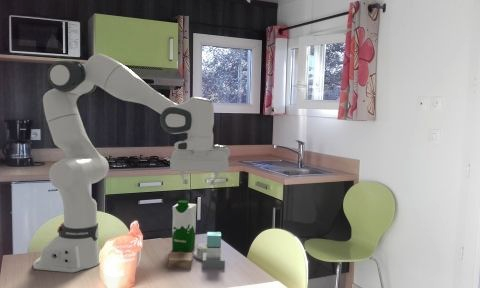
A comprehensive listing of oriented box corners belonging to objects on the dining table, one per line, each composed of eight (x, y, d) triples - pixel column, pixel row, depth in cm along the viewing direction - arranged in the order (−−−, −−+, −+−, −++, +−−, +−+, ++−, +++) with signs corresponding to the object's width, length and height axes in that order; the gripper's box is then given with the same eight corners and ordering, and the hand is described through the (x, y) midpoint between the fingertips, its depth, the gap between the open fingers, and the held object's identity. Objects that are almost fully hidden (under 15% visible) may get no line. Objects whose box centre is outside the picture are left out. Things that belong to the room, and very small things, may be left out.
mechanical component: (190, 259, 164) (215, 262, 162) (190, 248, 164) (216, 250, 162) (198, 251, 174) (222, 253, 172) (198, 240, 174) (222, 242, 172)
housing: (206, 258, 157) (207, 235, 156) (206, 254, 161) (207, 232, 160) (220, 258, 157) (221, 235, 156) (220, 254, 161) (220, 232, 161)
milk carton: (169, 250, 172) (170, 201, 170) (177, 243, 181) (178, 196, 179) (190, 253, 170) (191, 203, 168) (197, 246, 179) (199, 198, 177)
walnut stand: (168, 268, 154) (168, 259, 154) (170, 259, 162) (170, 252, 162) (191, 268, 155) (191, 260, 155) (192, 260, 163) (192, 252, 163)
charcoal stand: (202, 268, 155) (202, 260, 155) (202, 260, 163) (203, 252, 163) (224, 268, 156) (224, 260, 155) (224, 260, 164) (224, 253, 163)
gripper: (230, 144, 153) (228, 183, 154) (171, 142, 151) (170, 181, 153) (230, 146, 146) (229, 186, 148) (170, 144, 145) (169, 185, 146)
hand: (199, 184), depth 150 cm, fingers open, 8 cm apart
